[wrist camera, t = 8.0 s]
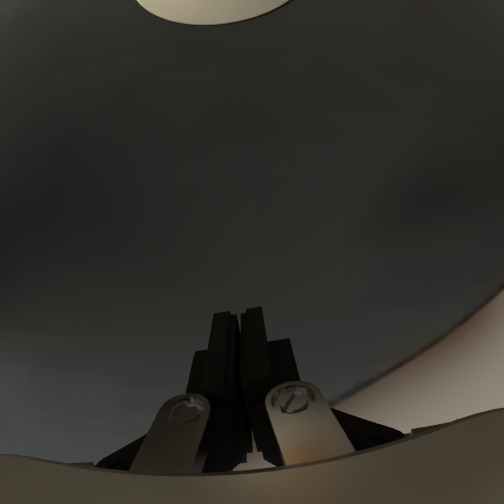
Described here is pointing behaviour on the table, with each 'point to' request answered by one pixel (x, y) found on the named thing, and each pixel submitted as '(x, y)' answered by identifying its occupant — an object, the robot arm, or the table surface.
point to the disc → (209, 10)
